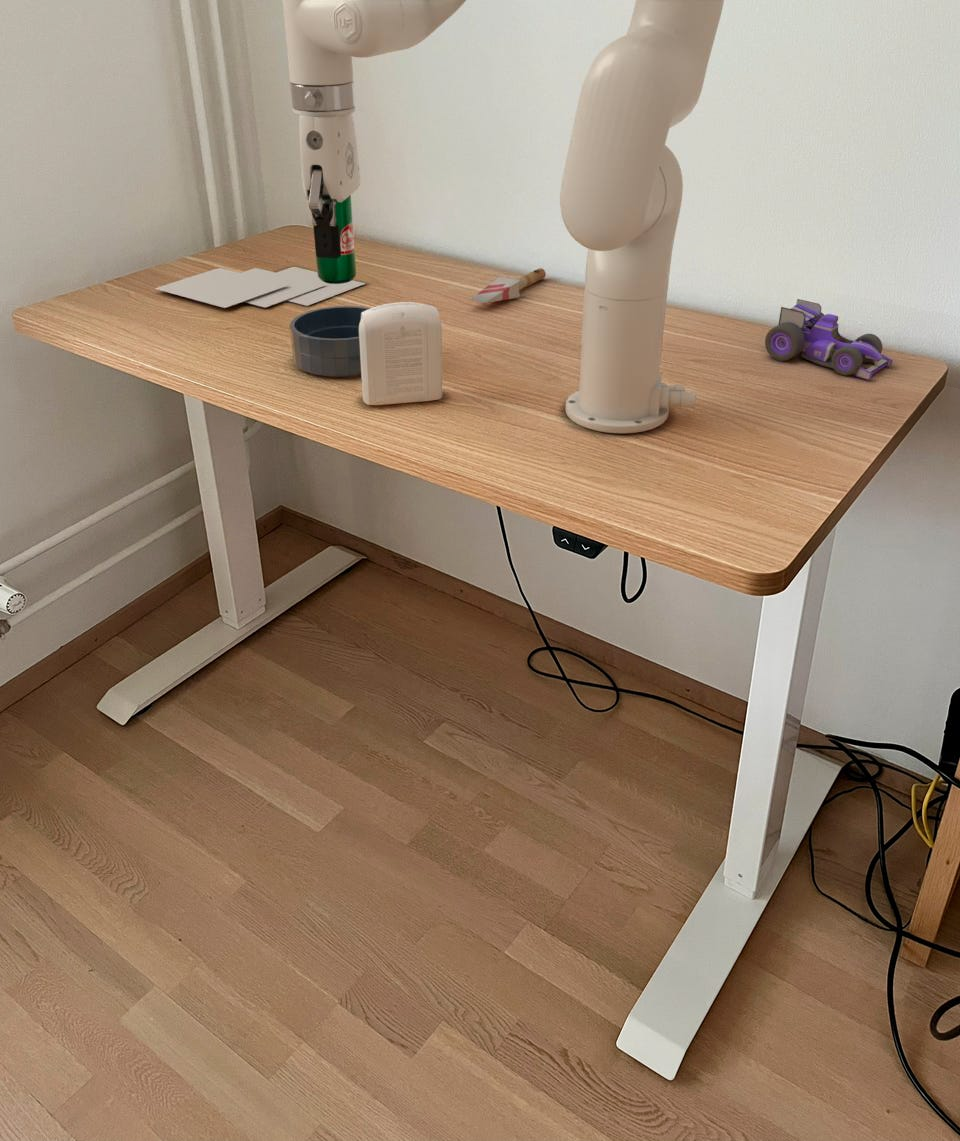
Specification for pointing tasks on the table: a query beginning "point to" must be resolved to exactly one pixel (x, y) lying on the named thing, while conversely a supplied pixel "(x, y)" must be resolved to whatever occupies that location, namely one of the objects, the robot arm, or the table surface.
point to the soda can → (345, 264)
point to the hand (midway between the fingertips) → (335, 249)
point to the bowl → (328, 341)
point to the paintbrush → (508, 287)
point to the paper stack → (257, 287)
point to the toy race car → (823, 341)
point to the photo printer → (400, 353)
